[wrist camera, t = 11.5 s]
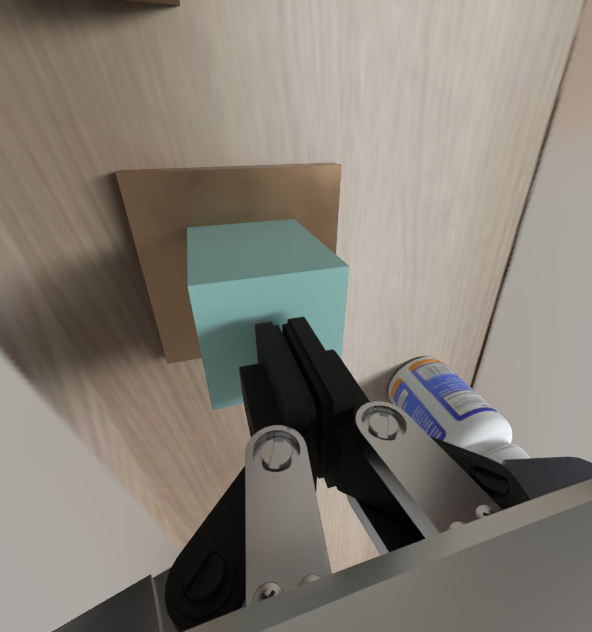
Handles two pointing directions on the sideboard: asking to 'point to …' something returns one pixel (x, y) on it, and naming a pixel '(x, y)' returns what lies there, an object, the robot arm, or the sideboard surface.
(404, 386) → the pill bottle
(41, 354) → the sideboard surface
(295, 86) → the sideboard surface
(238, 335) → the teal rectangular block
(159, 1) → the tan cardboard cube
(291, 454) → the robot arm
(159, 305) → the brown square base
